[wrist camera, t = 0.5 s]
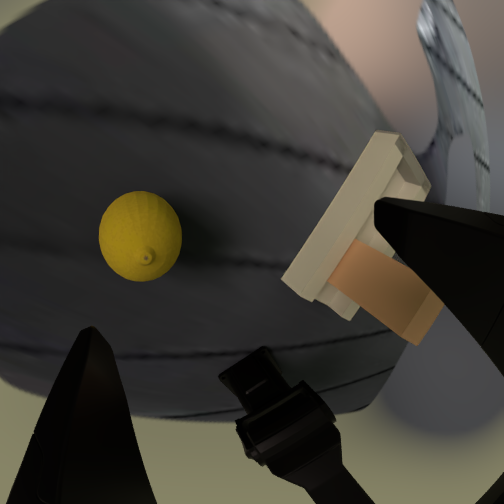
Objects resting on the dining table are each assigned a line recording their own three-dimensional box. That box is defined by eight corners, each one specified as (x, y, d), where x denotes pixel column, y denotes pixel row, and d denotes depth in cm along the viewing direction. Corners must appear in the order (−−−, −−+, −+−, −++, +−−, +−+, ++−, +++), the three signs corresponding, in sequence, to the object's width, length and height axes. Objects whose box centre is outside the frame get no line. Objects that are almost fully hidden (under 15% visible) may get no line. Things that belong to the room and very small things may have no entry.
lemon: (179, 235, 24) (207, 279, 17) (117, 261, 22) (122, 317, 16) (157, 171, 21) (176, 191, 14) (91, 199, 20) (78, 233, 13)
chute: (332, 306, 35) (349, 320, 32) (280, 279, 30) (299, 295, 27) (410, 179, 33) (431, 186, 31) (376, 129, 28) (400, 133, 25)
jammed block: (339, 287, 33) (417, 346, 23) (314, 271, 30) (400, 336, 20) (363, 251, 32) (446, 300, 22) (341, 231, 30) (435, 282, 20)
